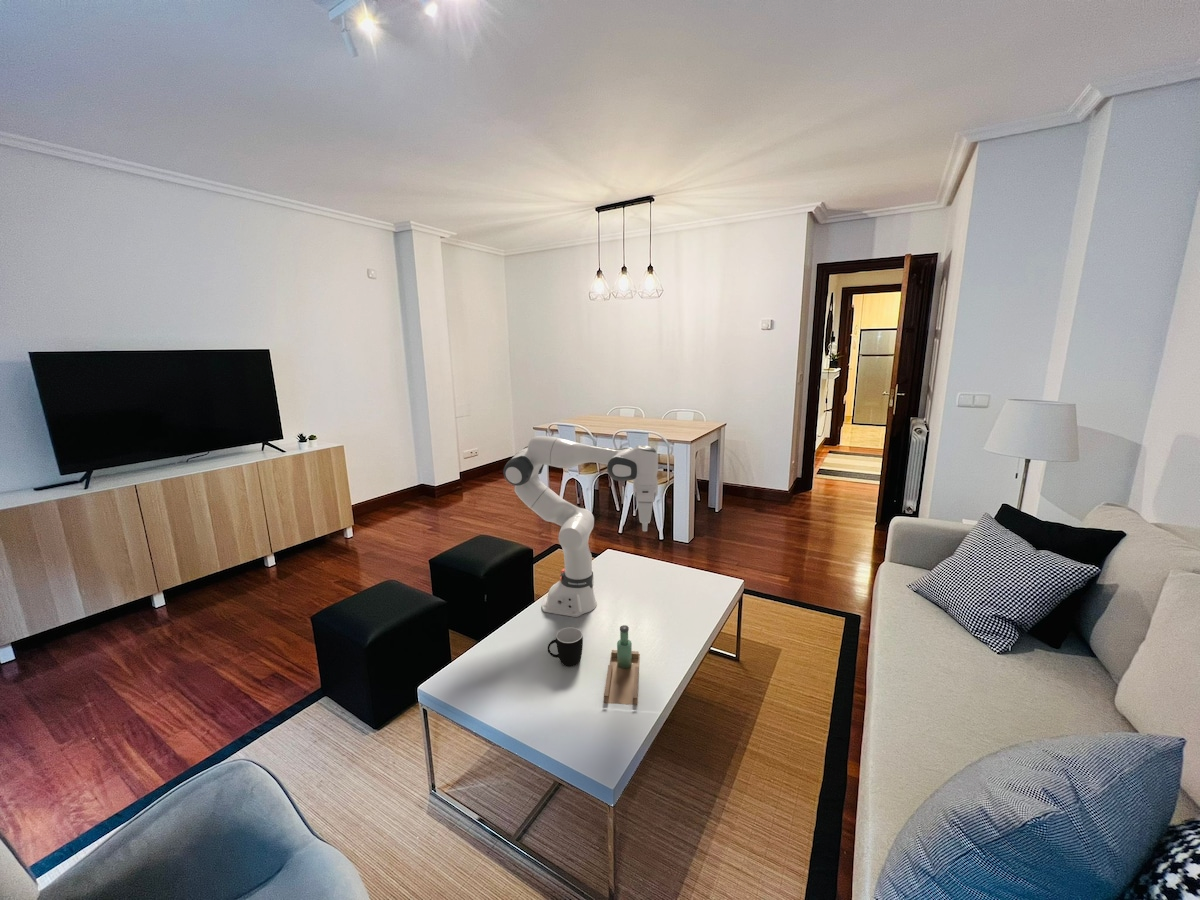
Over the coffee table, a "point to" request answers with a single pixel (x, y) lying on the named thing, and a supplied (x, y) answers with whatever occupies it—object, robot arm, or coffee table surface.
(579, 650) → the mug
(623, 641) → the bottle
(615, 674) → the rest
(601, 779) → the coffee table surface
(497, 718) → the coffee table surface
